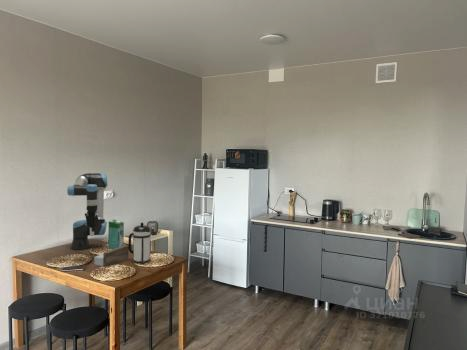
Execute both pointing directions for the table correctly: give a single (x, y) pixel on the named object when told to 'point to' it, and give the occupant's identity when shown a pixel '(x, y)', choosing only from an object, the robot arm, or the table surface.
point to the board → (115, 255)
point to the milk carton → (115, 234)
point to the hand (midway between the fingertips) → (92, 235)
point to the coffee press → (140, 243)
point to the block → (98, 260)
